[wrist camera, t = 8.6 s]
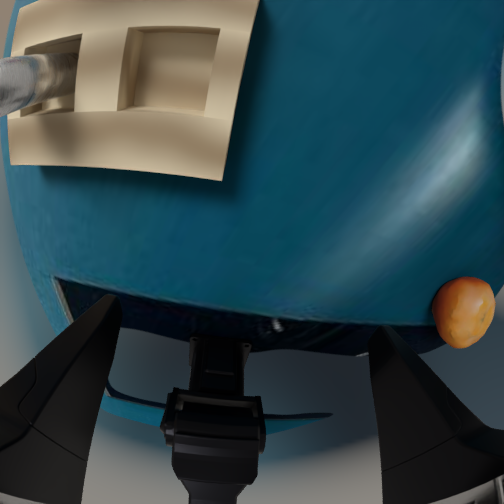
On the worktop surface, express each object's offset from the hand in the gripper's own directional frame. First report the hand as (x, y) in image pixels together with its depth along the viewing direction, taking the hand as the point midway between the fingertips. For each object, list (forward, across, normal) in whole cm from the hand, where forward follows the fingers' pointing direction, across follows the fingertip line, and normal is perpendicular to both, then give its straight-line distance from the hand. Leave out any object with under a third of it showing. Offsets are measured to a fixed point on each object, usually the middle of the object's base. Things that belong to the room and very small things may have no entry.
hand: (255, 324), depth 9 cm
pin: (+12, +14, -7) cm, 19 cm away
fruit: (+12, -25, +7) cm, 29 cm away
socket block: (+12, +10, -7) cm, 17 cm away
